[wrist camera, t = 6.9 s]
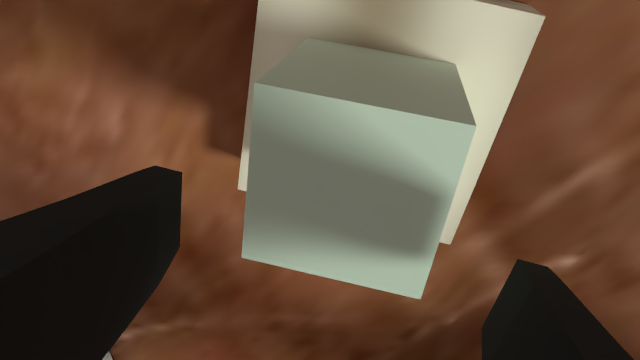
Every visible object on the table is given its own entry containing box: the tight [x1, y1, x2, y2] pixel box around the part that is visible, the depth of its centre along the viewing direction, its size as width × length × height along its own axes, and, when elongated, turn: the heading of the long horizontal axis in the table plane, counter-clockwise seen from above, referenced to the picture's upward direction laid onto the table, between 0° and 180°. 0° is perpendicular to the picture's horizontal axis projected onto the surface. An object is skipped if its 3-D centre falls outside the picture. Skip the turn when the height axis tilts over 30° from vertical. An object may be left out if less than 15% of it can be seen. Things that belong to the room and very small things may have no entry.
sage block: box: [242, 37, 476, 300], centre depth 14 cm, size 5×5×6 cm
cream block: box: [238, 0, 545, 245], centre depth 18 cm, size 9×9×3 cm
